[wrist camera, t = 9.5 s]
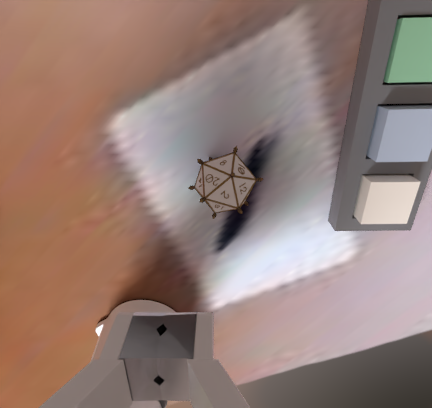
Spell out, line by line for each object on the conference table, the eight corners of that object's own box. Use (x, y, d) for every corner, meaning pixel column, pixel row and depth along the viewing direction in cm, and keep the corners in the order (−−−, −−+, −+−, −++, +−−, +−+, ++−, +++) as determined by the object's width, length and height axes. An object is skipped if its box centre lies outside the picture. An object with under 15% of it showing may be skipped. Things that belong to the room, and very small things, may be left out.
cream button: (394, 212, 41) (406, 223, 38) (351, 213, 41) (360, 224, 38) (406, 172, 38) (420, 181, 35) (360, 173, 38) (371, 182, 35)
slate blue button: (412, 153, 37) (427, 161, 34) (364, 154, 37) (376, 162, 34) (427, 104, 34) (444, 108, 31) (375, 105, 34) (389, 109, 31)
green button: (426, 79, 34) (443, 81, 32) (374, 80, 34) (387, 82, 32) (443, 19, 31) (463, 16, 29) (387, 21, 32) (403, 17, 29)
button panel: (398, 219, 43) (410, 230, 41) (328, 220, 44) (335, 230, 41) (469, -6, 31) (493, -12, 28) (369, -4, 31) (383, -9, 28)
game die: (213, 171, 44) (167, 201, 38) (230, 125, 38) (178, 152, 32) (259, 206, 42) (218, 246, 36) (285, 164, 36) (241, 202, 29)
